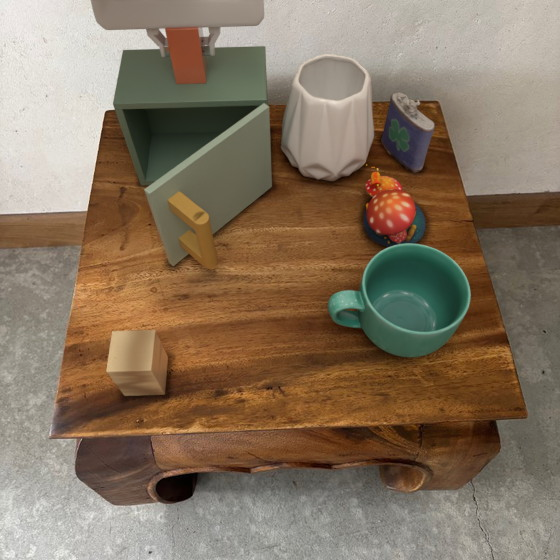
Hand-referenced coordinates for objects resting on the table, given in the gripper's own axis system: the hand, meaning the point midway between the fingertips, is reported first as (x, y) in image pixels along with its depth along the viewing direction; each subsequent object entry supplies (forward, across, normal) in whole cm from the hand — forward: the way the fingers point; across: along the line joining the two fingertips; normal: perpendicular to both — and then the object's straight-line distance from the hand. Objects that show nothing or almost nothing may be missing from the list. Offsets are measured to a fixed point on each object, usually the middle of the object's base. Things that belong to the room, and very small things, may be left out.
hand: (188, 53), depth 71 cm
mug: (+19, -25, +30) cm, 44 cm away
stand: (+19, +6, +37) cm, 42 cm away
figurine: (+19, -28, +14) cm, 37 cm away
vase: (+19, -19, 0) cm, 27 cm away
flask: (+19, -31, 0) cm, 36 cm away
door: (+19, -5, +15) cm, 25 cm away
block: (+3, 0, 0) cm, 3 cm away
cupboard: (+19, 0, 0) cm, 19 cm away
